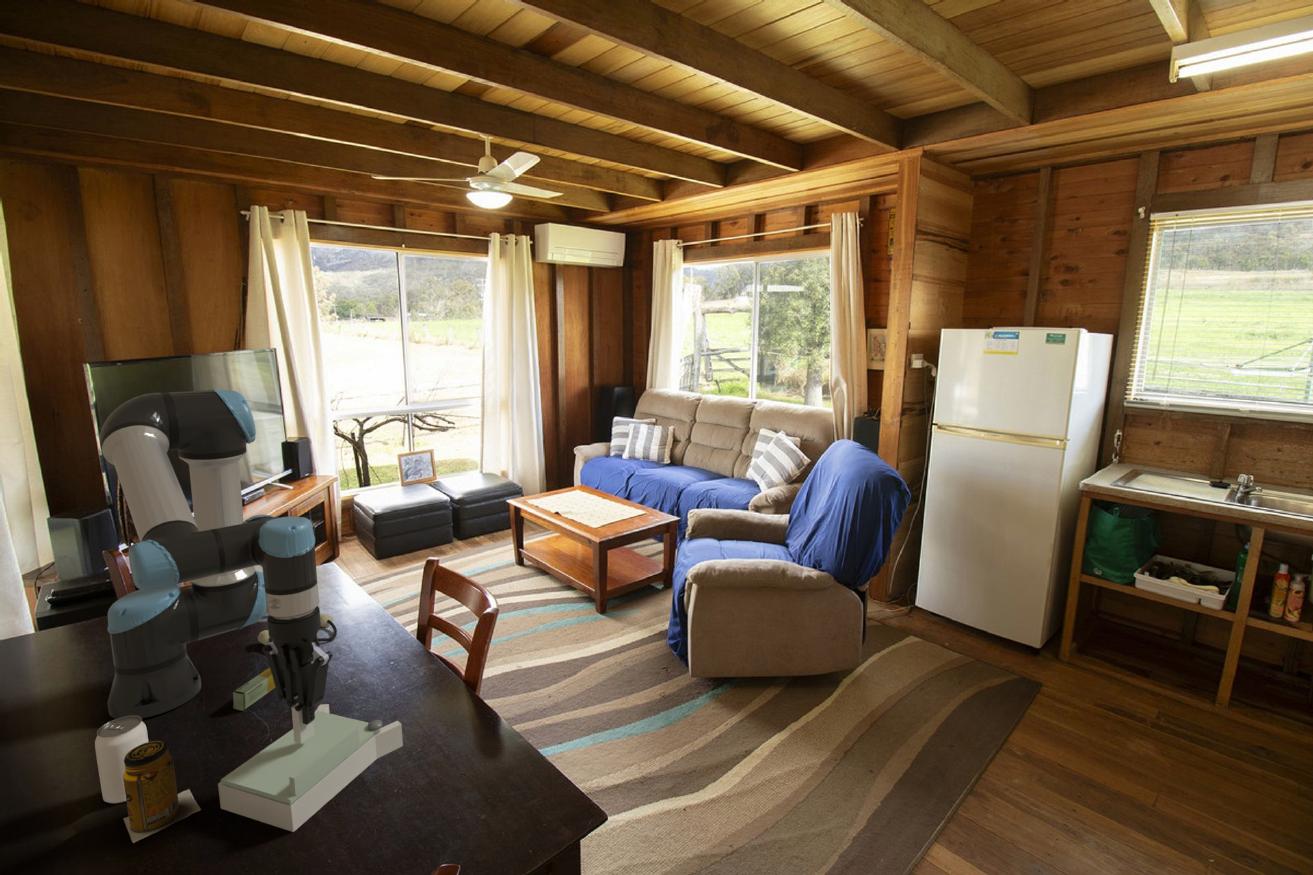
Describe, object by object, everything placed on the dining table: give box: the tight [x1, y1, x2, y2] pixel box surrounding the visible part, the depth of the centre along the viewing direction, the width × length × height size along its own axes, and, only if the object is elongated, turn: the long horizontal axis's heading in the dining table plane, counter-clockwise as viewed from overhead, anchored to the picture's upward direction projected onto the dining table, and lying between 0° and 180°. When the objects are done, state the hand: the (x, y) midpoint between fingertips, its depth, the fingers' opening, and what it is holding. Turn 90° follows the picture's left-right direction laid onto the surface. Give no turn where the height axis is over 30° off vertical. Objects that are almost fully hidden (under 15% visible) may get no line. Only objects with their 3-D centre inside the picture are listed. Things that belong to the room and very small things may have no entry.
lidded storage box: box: [217, 703, 404, 833], centre depth 106 cm, size 22×19×4 cm
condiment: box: [123, 740, 202, 844], centre depth 95 cm, size 7×8×12 cm
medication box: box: [232, 667, 276, 712], centre depth 129 cm, size 12×3×4 cm, turn 170°
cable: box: [257, 613, 338, 646], centre depth 150 cm, size 16×16×4 cm
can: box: [94, 715, 149, 804], centre depth 100 cm, size 6×6×12 cm
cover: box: [220, 711, 383, 804], centre depth 103 cm, size 15×20×4 cm
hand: (304, 737), depth 104 cm, fingers closed
